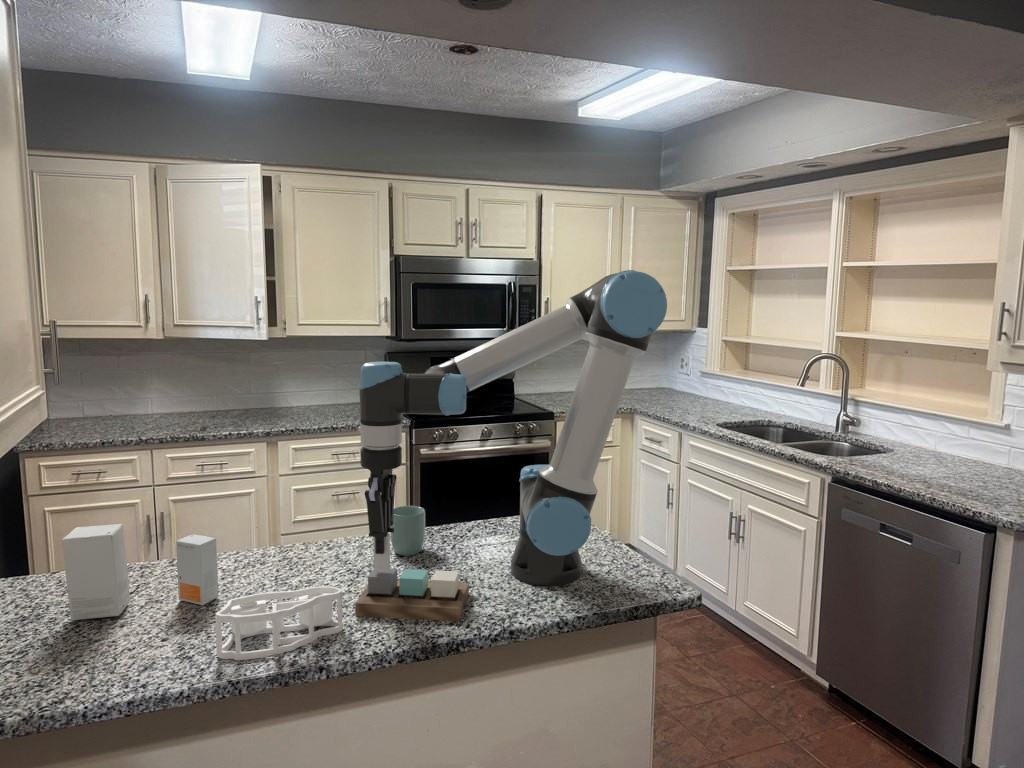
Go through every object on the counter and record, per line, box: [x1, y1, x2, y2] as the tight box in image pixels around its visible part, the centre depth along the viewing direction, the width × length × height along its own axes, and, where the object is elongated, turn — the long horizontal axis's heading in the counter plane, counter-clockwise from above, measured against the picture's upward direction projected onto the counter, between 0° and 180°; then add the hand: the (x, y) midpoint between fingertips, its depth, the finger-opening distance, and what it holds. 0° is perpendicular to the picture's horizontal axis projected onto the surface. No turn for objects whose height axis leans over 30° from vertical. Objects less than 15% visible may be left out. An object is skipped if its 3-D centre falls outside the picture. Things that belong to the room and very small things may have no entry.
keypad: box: [354, 579, 470, 622], centre depth 127 cm, size 19×11×2 cm, turn 85°
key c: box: [367, 567, 398, 594], centre depth 127 cm, size 4×4×3 cm
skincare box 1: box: [61, 523, 131, 621], centre depth 122 cm, size 8×7×16 cm
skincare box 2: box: [175, 534, 219, 606], centre depth 128 cm, size 6×4×12 cm
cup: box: [389, 505, 426, 557], centre depth 153 cm, size 8×8×10 cm
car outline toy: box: [215, 585, 344, 661], centre depth 114 cm, size 20×11×7 cm, turn 108°
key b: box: [398, 568, 429, 596], centre depth 126 cm, size 4×4×3 cm
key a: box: [431, 570, 460, 598], centre depth 126 cm, size 4×4×3 cm
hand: (381, 567), depth 127 cm, fingers closed
